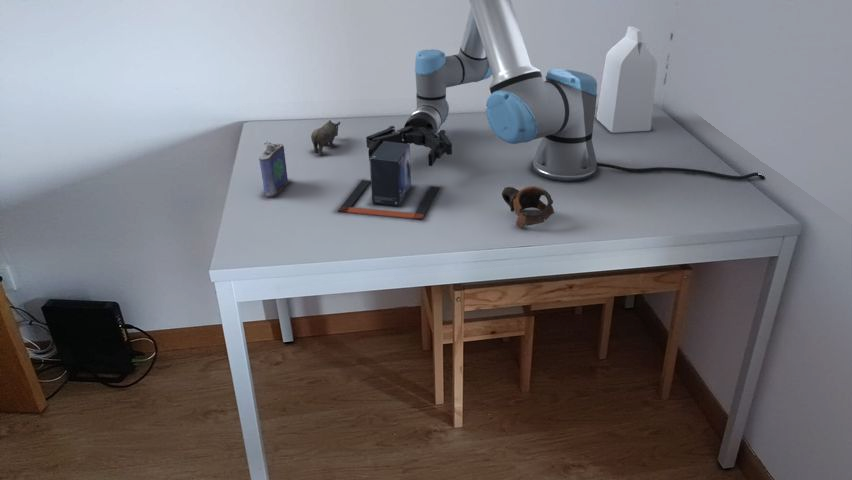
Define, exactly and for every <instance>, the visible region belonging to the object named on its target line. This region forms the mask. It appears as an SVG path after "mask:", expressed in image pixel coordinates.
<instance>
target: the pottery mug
mask: <svg viewBox="0 0 852 480" xmlns="http://www.w3.org/2000/svg"><path fill="white" fill-rule="evenodd" d="M542 196H544V197H545V199H546V201H547V204H546V203H544V202H543V201H542V200H541V197H542ZM501 197H502V199H503V200H504V202H505V203H506V205H507V206H508V207H509V209H510V212H511V213H514V212H515V214H516V215H517V219H516V221H515V225H516V226H517V227H519V228H520V229H523V228H525V226H526V227H528V226H533V225H534V226H535V225H539V224H542V223H544V222H545V221H547V220H548V219H549V218H550V217H551V216H552V215H553V214H555V209H554V207H553V205H552V204H554V200H553V199H552V195H551V194H550V193H549V192H548V191H547V190H546V189H544V188H543V187H540V186H536V185H534V186H533V185H530V186H525V187H523V188H521V189H517V188H515V187H512V186H506V187H504V188H503V190H502V191H501ZM526 209H537V210H539V211H536V212H532V211H528V210H526ZM524 210H526V211H525V213H523V211H524Z"/></svg>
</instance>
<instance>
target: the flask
mask: <svg viewBox="0 0 852 480" xmlns="http://www.w3.org/2000/svg"><path fill="white" fill-rule="evenodd" d="M263 145H265V146H266V147H265V150H264V151H263V152H262V153H261V155H259V158H258V160H259V161H258V162H259V166H260V172H261V179H262V185H263V191H264V192H263V193H264V197H266V198H273V197H275V196H277V195H278V193H280V192H281V191H282V190H283V188H284V187H285V186H287V185H288V184H289V179H288V178H289V177H288V171H287V162H286V154H285V146H284V144H283V143H271V142H270V141H266V142H265V141H264V144H263Z"/></svg>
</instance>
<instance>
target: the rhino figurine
mask: <svg viewBox="0 0 852 480" xmlns="http://www.w3.org/2000/svg"><path fill="white" fill-rule="evenodd" d="M339 125H341V121H338V122H336V123H335V122H333V121H332V120H331V119H329V120H328V121H327V122H326V123H324V124H323V125H322V126H321V127H319V128H316V129H314V130H313V131H312V132H311V134H310V135H311V136H310V139H311V143H312V144H313V153H317V156H325V152H323V149H324V146H329V147H330V148H335V147H336V145H335V144H334V140H335V138H336V137H337V136H339Z"/></svg>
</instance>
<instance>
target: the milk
mask: <svg viewBox="0 0 852 480" xmlns="http://www.w3.org/2000/svg"><path fill="white" fill-rule="evenodd" d="M649 49H650V47H649V46H648V44H647V43H646V42H645V41H643V31H642V30H641V29H639V28H637V27H635V26H633V25H630V26H628V27H627V29H626V33H625V35H624V36H623V37H622V38H621V39H620V40H619V41H618V42H617V43H616V44H614V45H613V46H612V47H611V48H610V49H609V50H608V51H607V53H606V55H605V61H604V68H603V72H602V80H601V86H600V93H599V97H598V98H599V99H598V105H597V112H596V120H597V121H598V122H600V123H601V124H602V126H603V127H604V128H606V129H607V130H608V131H609V132H610V133H612V134H614V133H615V134H616V133H631V132H632V133H634V132H647V131H651V130H652V120H653V110H654V101H655V91H656V82H657V81H656V80H657V69H658V62H657V59H656V57H655V56H654V55H653V54H652V53H651V51H650V50H649Z"/></svg>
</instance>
